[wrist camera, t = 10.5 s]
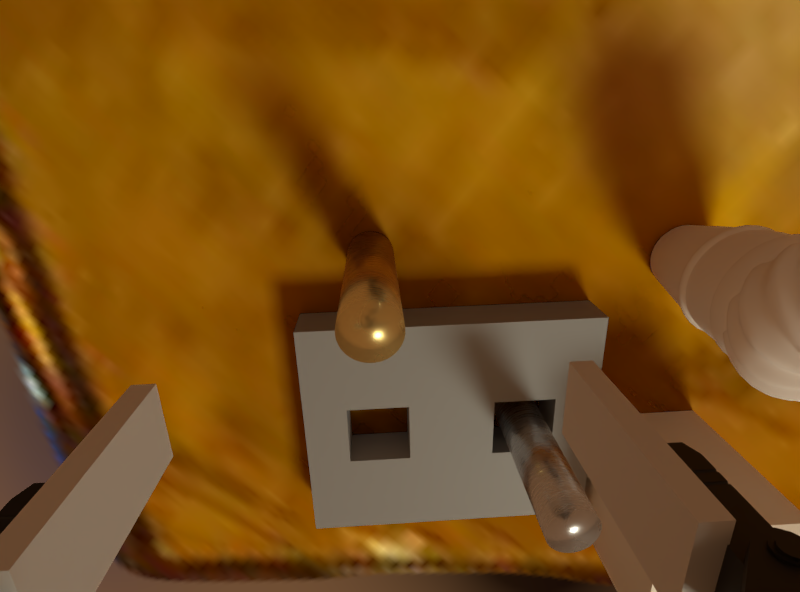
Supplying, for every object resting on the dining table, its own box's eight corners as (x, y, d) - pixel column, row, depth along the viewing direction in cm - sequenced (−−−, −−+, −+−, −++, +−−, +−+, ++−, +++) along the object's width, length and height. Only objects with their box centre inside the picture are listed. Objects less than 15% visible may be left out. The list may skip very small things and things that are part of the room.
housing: (583, 416, 37) (663, 532, 27) (692, 410, 38) (812, 522, 28) (572, 503, 41) (640, 637, 30) (673, 497, 41) (774, 627, 31)
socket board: (300, 313, 33) (293, 332, 30) (589, 300, 34) (608, 317, 31) (320, 498, 39) (316, 528, 36) (567, 483, 40) (581, 511, 37)
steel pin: (492, 385, 36) (547, 510, 25) (532, 383, 36) (605, 507, 25) (491, 420, 37) (542, 554, 26) (530, 418, 37) (598, 550, 26)
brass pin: (346, 232, 31) (331, 300, 20) (392, 230, 31) (404, 297, 20) (349, 276, 32) (337, 365, 21) (394, 274, 32) (406, 361, 21)
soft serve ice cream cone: (614, 212, 32) (828, 304, 17) (741, 178, 31) (1075, 240, 17) (625, 324, 35) (816, 486, 20) (742, 294, 34) (1025, 436, 20)
